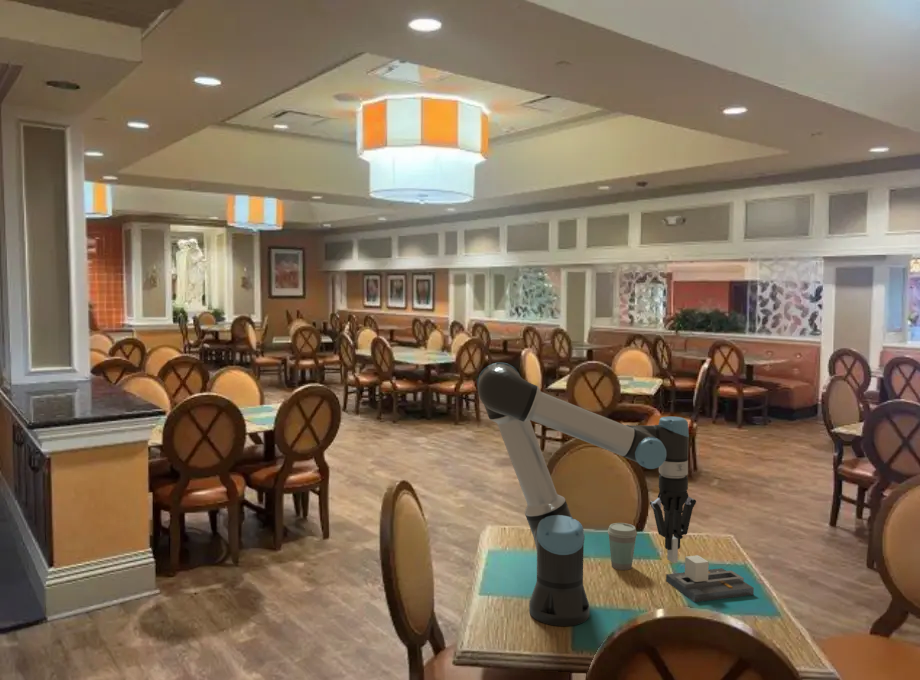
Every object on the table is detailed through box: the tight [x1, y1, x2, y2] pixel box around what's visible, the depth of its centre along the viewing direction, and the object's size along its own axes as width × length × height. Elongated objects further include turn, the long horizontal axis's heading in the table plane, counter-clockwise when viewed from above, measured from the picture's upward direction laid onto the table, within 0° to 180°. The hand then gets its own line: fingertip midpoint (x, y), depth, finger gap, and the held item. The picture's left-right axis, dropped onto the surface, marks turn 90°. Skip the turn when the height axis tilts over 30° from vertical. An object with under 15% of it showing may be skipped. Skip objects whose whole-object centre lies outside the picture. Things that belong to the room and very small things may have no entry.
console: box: [665, 567, 755, 603], centre depth 199 cm, size 18×14×3 cm
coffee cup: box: [607, 522, 638, 571], centre depth 214 cm, size 8×9×12 cm
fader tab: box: [684, 554, 710, 582], centre depth 198 cm, size 4×5×6 cm
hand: (672, 560), depth 196 cm, fingers closed
